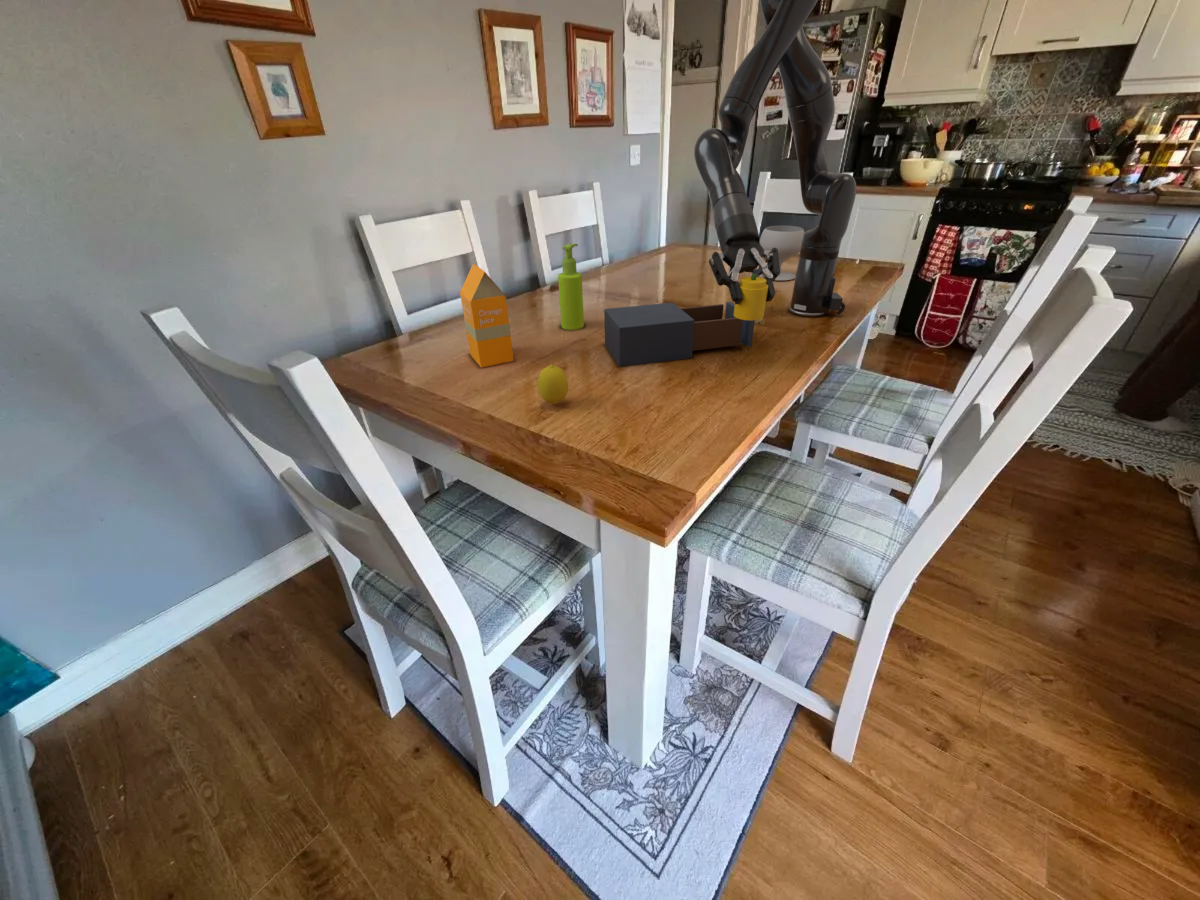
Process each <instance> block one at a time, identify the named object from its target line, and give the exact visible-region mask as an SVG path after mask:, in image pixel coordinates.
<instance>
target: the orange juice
mask: <svg viewBox="0 0 1200 900" xmlns="http://www.w3.org/2000/svg"><path fill="white" fill-rule="evenodd" d="M459 295H460V301H461V307H462V314H463V321H464V326H465V330H466V337H467V343H468V348H469V353H470V356H471V357H472V359H473V360H474V361H475V362H476V363H477V364H478V366H479V367H480V368H486V367H492V366H496V365H501V364H504V363H510V362H514V353H513V352H514V351H513V344H512V336H511V326H510V320H509V313H508V312H509V311H508V305H507V296H506V294H505V293H504V292H503V291H502V289H500V287H499V286H498V285H497V284H496V283H495V281H494V280H493V279H492V278H491V277H490V276H489V275H488V274H487V273H486V272H485V270H484V269H482V268H481V267H479V266H478V265H476V264H475V263H472V265H471V268H470V270H469V272H468V274H467V276H466V278H465V281H464V283H463V285H462V286H461V289H460V291H459Z"/></svg>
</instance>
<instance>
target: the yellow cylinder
mask: <svg viewBox="0 0 1200 900" xmlns="http://www.w3.org/2000/svg"><path fill="white" fill-rule="evenodd" d="M756 276H757V275H756V274H752V273H751V276H744V277H741V278H740V281H739V284H740V288H741V292H742V295H743V300H742V302H741V303H740V304H735V303H734V304H735V306H734V314H733V315H734V317H736V318H738V319H742V320H750V321H752V320H760V319H764V316H765V311H766V303H767V302H766V298H767V292H768V285H767V284H766V279H764V278H761V277H756Z"/></svg>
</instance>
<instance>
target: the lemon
mask: <svg viewBox="0 0 1200 900" xmlns="http://www.w3.org/2000/svg"><path fill="white" fill-rule="evenodd" d="M537 389H538V394H539V395H540V397H541V399H542V400H544V401H545V402H546V403H548V404H551V405H553V406H556V405H558V404H559V403H561V402H562V401H564V400H565V398H566V397H567V394H568V392H569V380H568V378H567V375H566V373H565V371H564V370H563V368H561V367H559V366H557V365H554V364H549V365H548V366H546V367H545V368H543V369H542V370H541V371H540V372H539V374H538V379H537Z"/></svg>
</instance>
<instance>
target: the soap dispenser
mask: <svg viewBox="0 0 1200 900" xmlns="http://www.w3.org/2000/svg"><path fill="white" fill-rule="evenodd" d="M575 247H578V243H566V244H563V246H562V250H564V256H565V257H564V258H563V259H562V260H561V263H562V265H561V266H562V272H561V273H559V274H557V282H558V295H559V308H560V309H559V311H560V324H561V325H560V327H561V328H562V329H563V330H569V331H576V330H580V329H583V328H584V326H585V320H584V319H585V317H584V295H583V292H584V291H583V274H582V272H577V259H576V258H574V257H573V248H575Z"/></svg>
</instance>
